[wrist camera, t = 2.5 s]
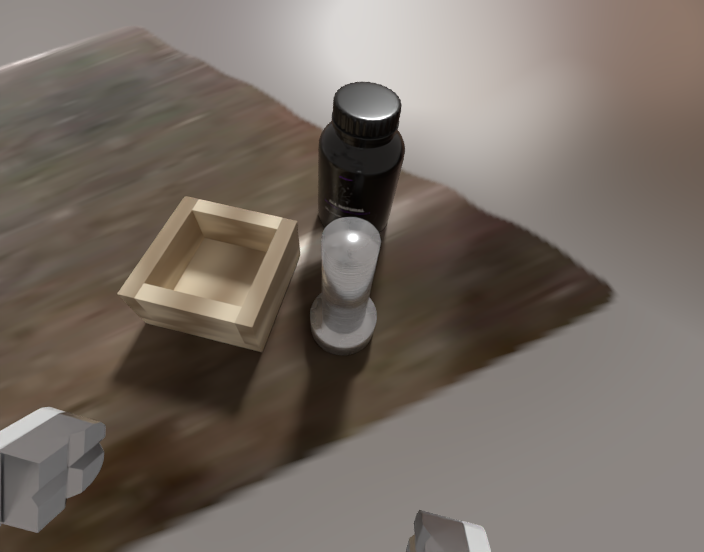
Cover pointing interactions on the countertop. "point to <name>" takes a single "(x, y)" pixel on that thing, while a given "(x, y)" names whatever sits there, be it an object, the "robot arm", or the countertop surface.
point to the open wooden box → (216, 273)
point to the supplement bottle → (360, 155)
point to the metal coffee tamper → (346, 287)
